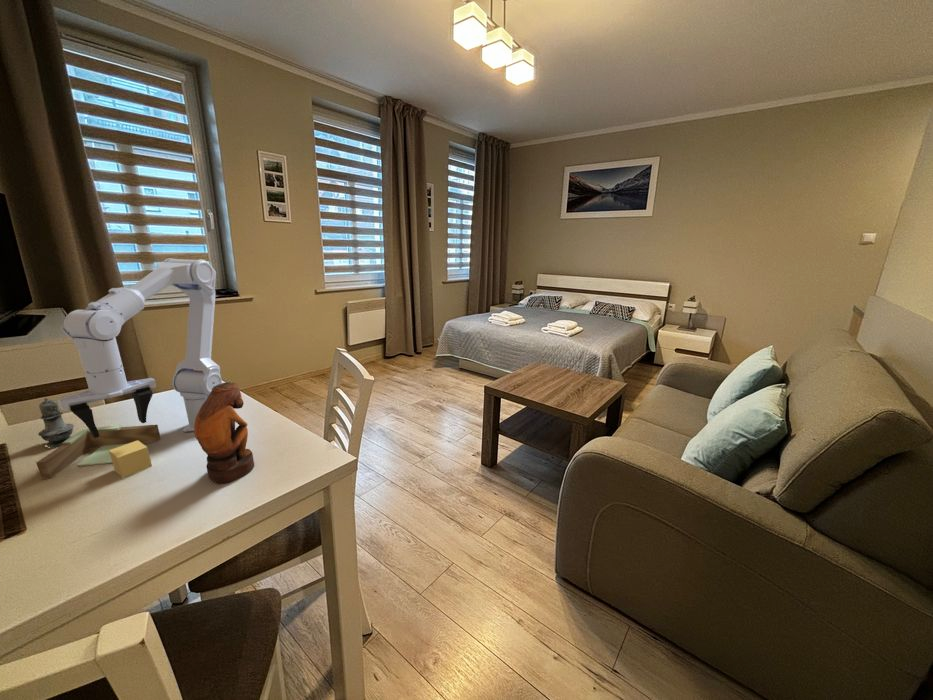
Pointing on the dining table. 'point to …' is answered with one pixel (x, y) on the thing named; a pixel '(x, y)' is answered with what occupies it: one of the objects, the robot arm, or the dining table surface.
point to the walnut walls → (93, 445)
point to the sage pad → (100, 456)
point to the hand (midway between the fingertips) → (120, 428)
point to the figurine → (223, 434)
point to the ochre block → (130, 458)
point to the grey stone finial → (54, 424)
